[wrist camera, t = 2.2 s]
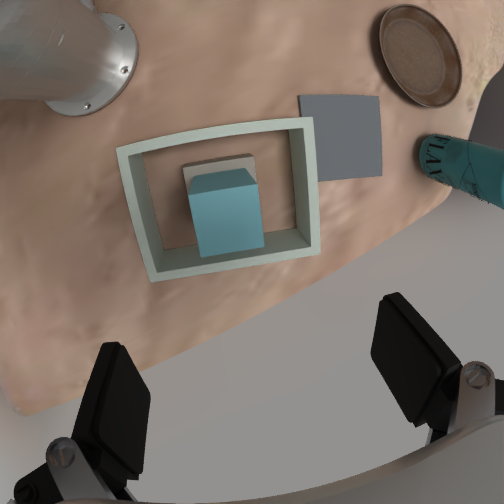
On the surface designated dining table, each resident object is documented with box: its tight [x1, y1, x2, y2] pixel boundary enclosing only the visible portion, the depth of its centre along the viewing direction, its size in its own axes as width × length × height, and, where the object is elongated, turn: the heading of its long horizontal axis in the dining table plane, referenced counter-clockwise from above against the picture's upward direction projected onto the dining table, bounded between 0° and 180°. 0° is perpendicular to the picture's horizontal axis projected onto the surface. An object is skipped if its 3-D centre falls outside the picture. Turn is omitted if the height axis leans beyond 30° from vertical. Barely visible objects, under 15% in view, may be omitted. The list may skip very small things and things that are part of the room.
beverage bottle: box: [419, 133, 504, 209], centre depth 23 cm, size 6×7×20 cm
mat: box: [298, 95, 382, 182], centre depth 30 cm, size 10×10×1 cm
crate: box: [116, 117, 320, 283], centre depth 29 cm, size 14×18×6 cm
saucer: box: [379, 4, 462, 108], centre depth 25 cm, size 15×15×3 cm
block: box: [188, 168, 265, 257], centre depth 25 cm, size 5×5×8 cm
